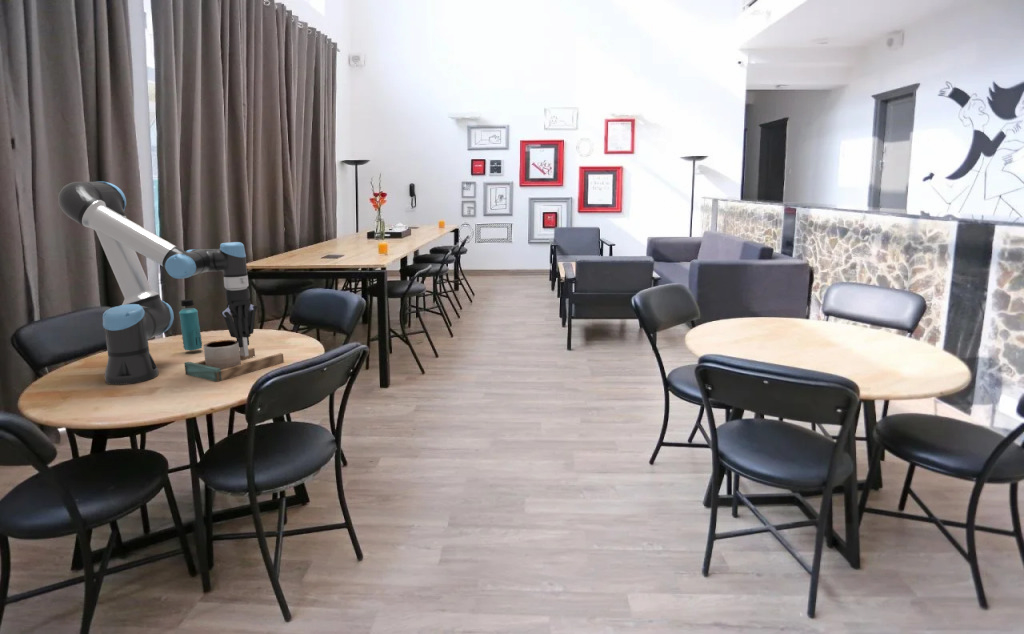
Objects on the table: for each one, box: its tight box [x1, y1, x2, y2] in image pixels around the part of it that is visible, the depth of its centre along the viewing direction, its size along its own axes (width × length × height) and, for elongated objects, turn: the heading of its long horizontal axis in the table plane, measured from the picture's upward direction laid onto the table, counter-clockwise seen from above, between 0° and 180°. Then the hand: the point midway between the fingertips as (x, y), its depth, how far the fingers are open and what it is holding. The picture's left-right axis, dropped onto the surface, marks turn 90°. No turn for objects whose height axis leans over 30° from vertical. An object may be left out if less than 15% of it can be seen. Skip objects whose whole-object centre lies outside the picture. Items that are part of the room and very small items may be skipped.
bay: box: [183, 347, 285, 383], centre depth 224 cm, size 26×17×4 cm, turn 148°
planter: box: [203, 339, 242, 370], centre depth 220 cm, size 11×11×10 cm
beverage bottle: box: [178, 298, 203, 351], centre depth 244 cm, size 6×7×20 cm
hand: (244, 355), depth 227 cm, fingers closed
